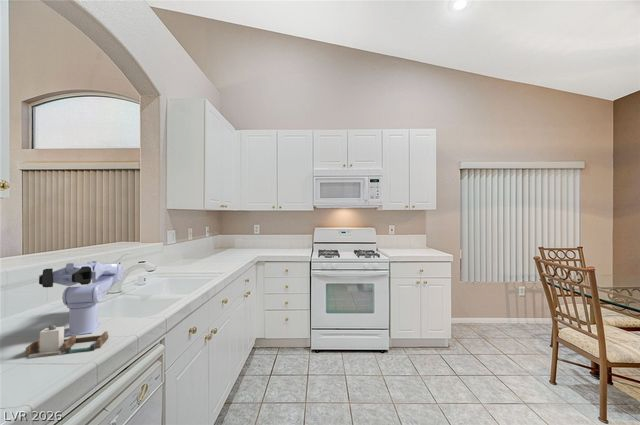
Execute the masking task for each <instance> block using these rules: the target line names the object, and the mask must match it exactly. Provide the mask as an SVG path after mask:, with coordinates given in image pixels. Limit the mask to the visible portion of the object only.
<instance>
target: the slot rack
mask: <svg viewBox="0 0 640 425" xmlns="http://www.w3.org/2000/svg"><path fill="white" fill-rule="evenodd" d="M108 332H109V331H107V330H106V331H104V332H103V333H102V334H101V335H92V336H83V337H76V336H77V335H72V336H70V337H68V338H64V343H63V347H62V351H61V350H59V351H53V352H44V353H40V352H38V353H36V352H37V351H38V350H40V338H38V339H36V340H35V341H33V342H32V343H31V344H29V345H28V346H26V347H25V357H26V358H28V359H33V358H41V357H49V356H57V355H60V354H61V353H65V354H72V353H73V354H74V353H84V352H90V351H95V350H96V348H97V349H101V348H102V346H103V345H104V344H105V343H106V342H107V340H108V339H109V333H108ZM92 341H93V342H94V341H96V343H92V344H90V345H89V346H90V347H89V346H88V347H81V348H72V347H73V346H75V344H77V343H85V342H86V343H87V342H92Z"/></svg>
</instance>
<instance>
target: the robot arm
mask: <svg viewBox="0 0 640 425" xmlns="http://www.w3.org/2000/svg"><path fill="white" fill-rule="evenodd" d="M123 273H124V268H123V265H122V264H119V263H101V262H98V261H97V260H92V261H88V262H87V263H79V264H78V263H76V264H75V262H68V263H66V264H65V267H62V268H60V269H57V270H54V271H53V268H44V269H42V274H40V275H38V284H39V285H42V288H53V287H54V284H58V285H61V286H66V287H65V289H64V290H63V293H62V299H61V300H62V303H63V304H64V305H65V307H66V308H67V309H69V310H68V311H69V313H68V314H69V315H68V318H69V319H68V329H69V330H68V331H67V332H66V333H64V337H69V336H70V337H71V336H72V335H76V336H78V335H80V336H81V335H88V334H93V333H94V332H95V331H96V330H97V329H98V328H99V327H100V326H101V325H102V323H101V322H100V323H99V307H98V303H99V302H100V301H101V299H102V298H103V295H104V294H106V293H108V292H110V290H111V289H112V288H113V286H114V285H115V284H116V283H118V282H120V281H121V280H122V278H123ZM91 282H92V283H91ZM78 284H80V286H75V285H78Z"/></svg>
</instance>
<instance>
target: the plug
mask: <svg viewBox="0 0 640 425" xmlns="http://www.w3.org/2000/svg"><path fill="white" fill-rule="evenodd" d="M64 334H65V326H57V325H56V324H51V325H49V326H48V327H45V328H44V329H42V330H41V331H39V339H40V349H39V353H45V352H54V351H61V349H63V343H64V339H65V336H64Z"/></svg>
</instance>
